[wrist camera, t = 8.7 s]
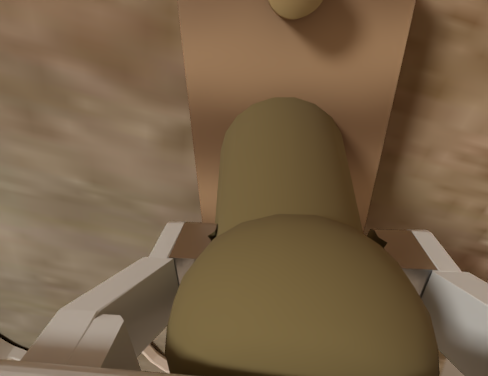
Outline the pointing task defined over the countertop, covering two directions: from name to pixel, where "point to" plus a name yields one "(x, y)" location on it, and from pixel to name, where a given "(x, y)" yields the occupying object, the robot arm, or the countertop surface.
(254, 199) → the cork
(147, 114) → the countertop surface
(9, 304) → the countertop surface
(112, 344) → the robot arm
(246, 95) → the plane block
